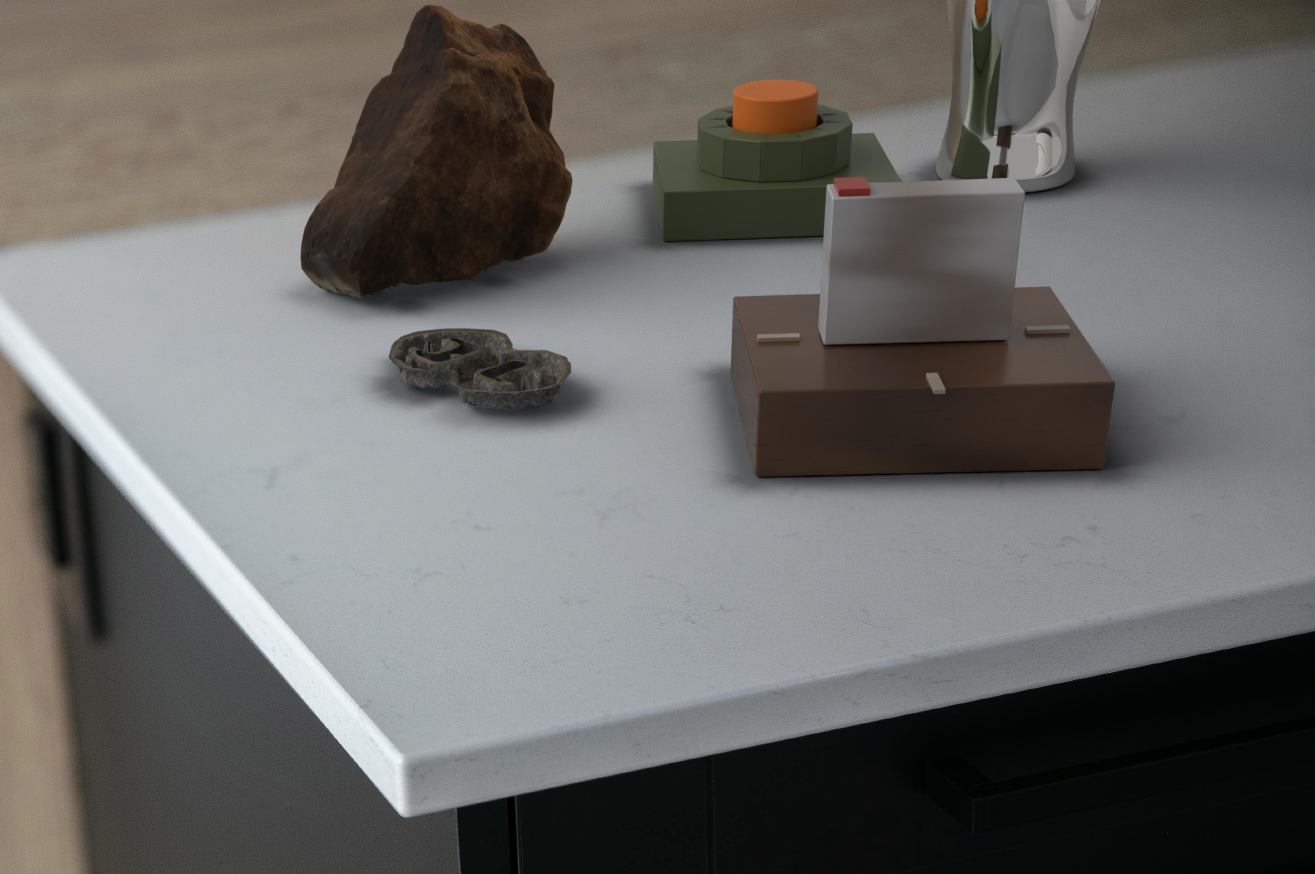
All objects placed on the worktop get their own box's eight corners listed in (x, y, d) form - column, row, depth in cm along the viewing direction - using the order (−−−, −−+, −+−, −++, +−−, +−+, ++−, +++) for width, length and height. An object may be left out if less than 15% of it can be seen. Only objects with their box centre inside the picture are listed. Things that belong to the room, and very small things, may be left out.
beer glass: (920, 194, 89) (950, -162, 82) (930, 151, 95) (960, -186, 88) (1084, 199, 87) (1130, -166, 80) (1084, 155, 93) (1128, -190, 86)
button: (810, 117, 88) (812, 77, 88) (821, 139, 85) (823, 98, 84) (728, 120, 89) (730, 80, 88) (736, 142, 86) (737, 101, 85)
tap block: (1037, 359, 72) (1047, 275, 70) (1109, 477, 63) (1122, 384, 61) (728, 368, 73) (731, 285, 71) (756, 485, 64) (761, 394, 63)
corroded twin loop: (502, 433, 69) (501, 405, 68) (358, 374, 74) (356, 348, 74) (605, 392, 71) (605, 365, 71) (458, 338, 77) (457, 313, 76)
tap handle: (999, 323, 67) (1016, 169, 64) (1009, 340, 65) (1026, 184, 63) (817, 328, 67) (826, 176, 65) (823, 345, 66) (832, 191, 63)
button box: (870, 179, 92) (877, 92, 90) (899, 233, 85) (906, 140, 83) (652, 188, 93) (653, 102, 91) (662, 241, 86) (664, 150, 84)
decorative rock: (517, 228, 89) (513, -22, 84) (599, 261, 84) (600, -1, 79) (284, 286, 84) (264, 25, 79) (358, 325, 79) (342, 51, 74)
